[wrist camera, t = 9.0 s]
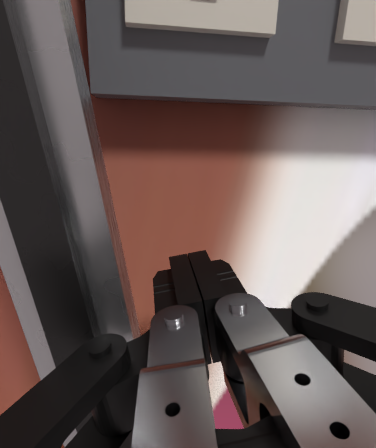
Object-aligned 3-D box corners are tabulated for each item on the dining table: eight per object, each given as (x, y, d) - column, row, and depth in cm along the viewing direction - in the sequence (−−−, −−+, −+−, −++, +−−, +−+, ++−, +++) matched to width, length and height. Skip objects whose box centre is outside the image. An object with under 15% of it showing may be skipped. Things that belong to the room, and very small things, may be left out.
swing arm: (-158, -328, 6) (-378, -663, 4) (6, -325, 7) (-84, -630, 4) (86, 440, 13) (73, 520, 10) (161, 423, 13) (167, 496, 11)
